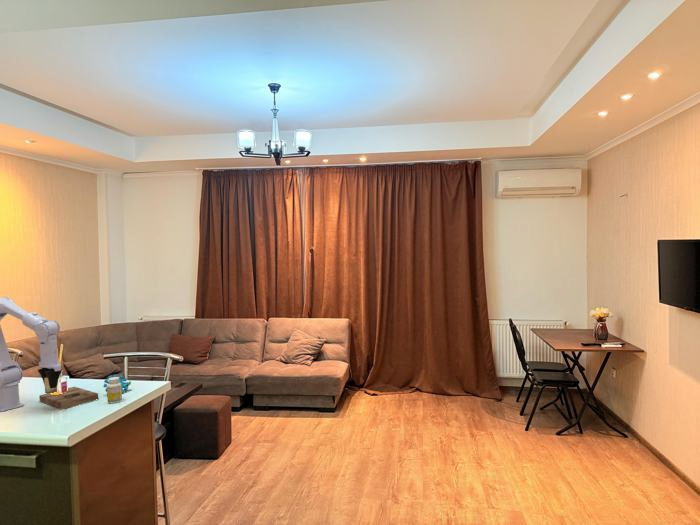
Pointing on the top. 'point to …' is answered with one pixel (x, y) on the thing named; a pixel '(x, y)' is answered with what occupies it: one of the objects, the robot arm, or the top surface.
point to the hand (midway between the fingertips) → (50, 386)
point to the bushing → (47, 387)
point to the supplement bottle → (114, 390)
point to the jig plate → (69, 398)
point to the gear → (123, 385)
